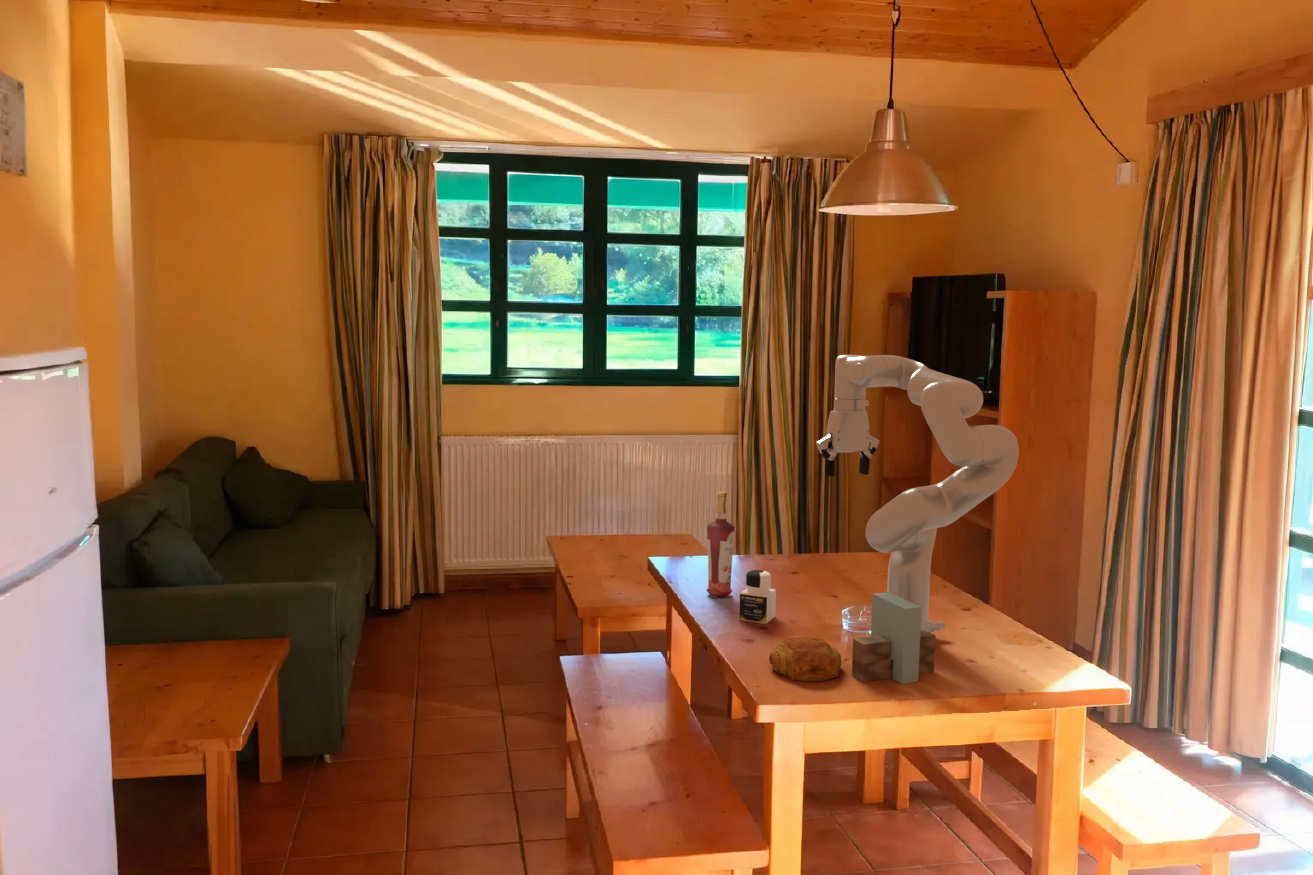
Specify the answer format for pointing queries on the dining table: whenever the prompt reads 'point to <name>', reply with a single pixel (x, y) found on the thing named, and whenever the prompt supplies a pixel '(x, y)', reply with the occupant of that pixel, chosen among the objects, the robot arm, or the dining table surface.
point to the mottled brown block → (887, 657)
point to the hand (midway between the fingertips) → (847, 474)
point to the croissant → (806, 659)
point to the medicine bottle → (757, 598)
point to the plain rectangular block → (898, 633)
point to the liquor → (720, 551)
